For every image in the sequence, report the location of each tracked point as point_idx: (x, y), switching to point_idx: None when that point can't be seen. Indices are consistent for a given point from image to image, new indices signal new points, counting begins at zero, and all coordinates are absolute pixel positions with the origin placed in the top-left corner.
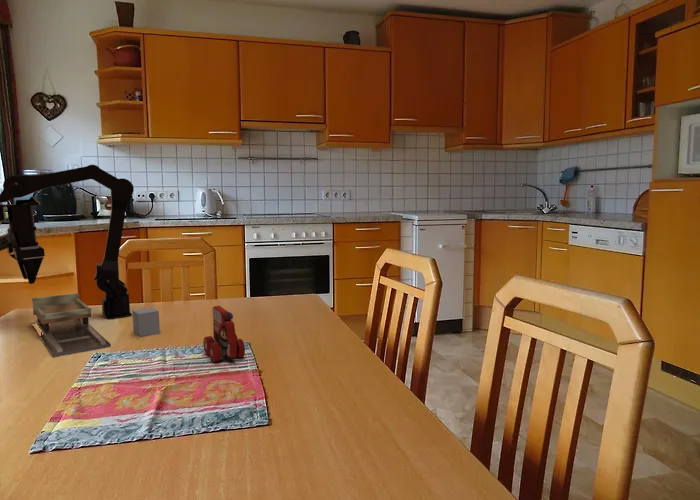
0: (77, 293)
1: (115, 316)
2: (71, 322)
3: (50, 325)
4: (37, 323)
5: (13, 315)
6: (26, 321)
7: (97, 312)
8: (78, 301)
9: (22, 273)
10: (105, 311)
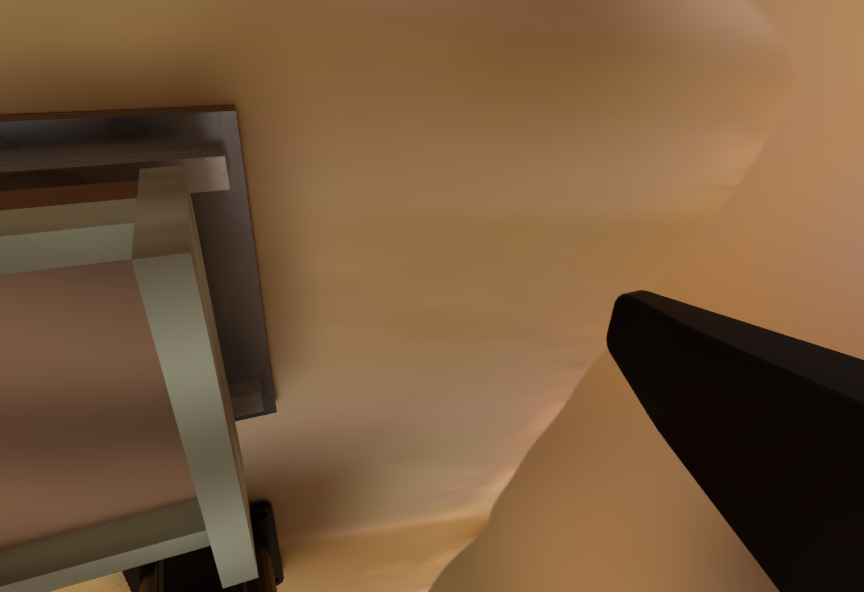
0: (224, 584)
1: (125, 574)
2: None
3: None
4: (103, 160)
5: (694, 8)
6: (419, 78)
7: (370, 462)
8: (71, 567)
9: (701, 344)
10: (158, 564)
